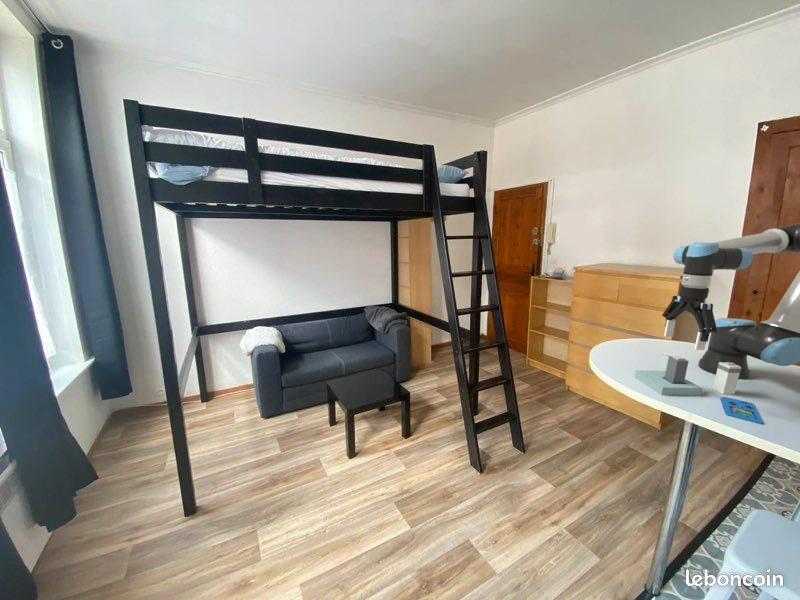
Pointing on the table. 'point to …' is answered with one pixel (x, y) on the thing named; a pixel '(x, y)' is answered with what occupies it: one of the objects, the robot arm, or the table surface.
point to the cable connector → (726, 377)
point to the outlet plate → (666, 384)
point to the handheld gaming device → (740, 410)
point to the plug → (676, 370)
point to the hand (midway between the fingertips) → (682, 342)
